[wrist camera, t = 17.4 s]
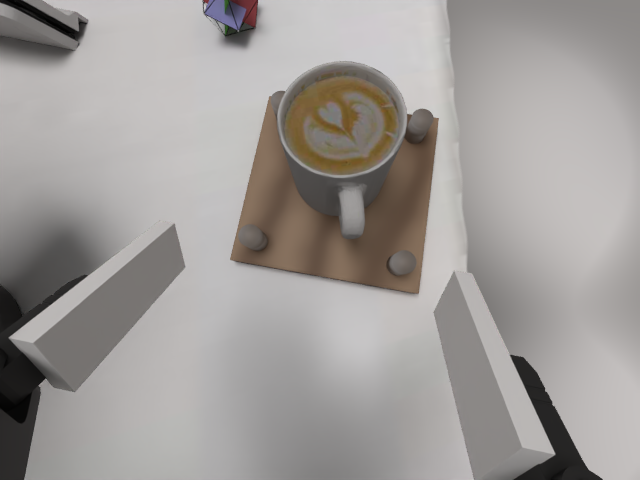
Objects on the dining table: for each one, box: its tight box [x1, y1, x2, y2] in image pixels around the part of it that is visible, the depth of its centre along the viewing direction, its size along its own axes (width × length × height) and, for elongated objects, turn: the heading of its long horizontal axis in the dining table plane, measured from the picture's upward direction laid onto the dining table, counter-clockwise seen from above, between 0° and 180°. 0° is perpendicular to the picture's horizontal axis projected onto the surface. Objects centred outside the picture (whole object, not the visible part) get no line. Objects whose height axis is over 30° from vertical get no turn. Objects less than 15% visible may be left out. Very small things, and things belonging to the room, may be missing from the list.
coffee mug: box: [277, 61, 407, 239], centre depth 25 cm, size 13×10×10 cm
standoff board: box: [230, 91, 439, 294], centre depth 29 cm, size 20×20×4 cm
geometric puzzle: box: [203, 0, 258, 37], centre depth 34 cm, size 7×7×8 cm
